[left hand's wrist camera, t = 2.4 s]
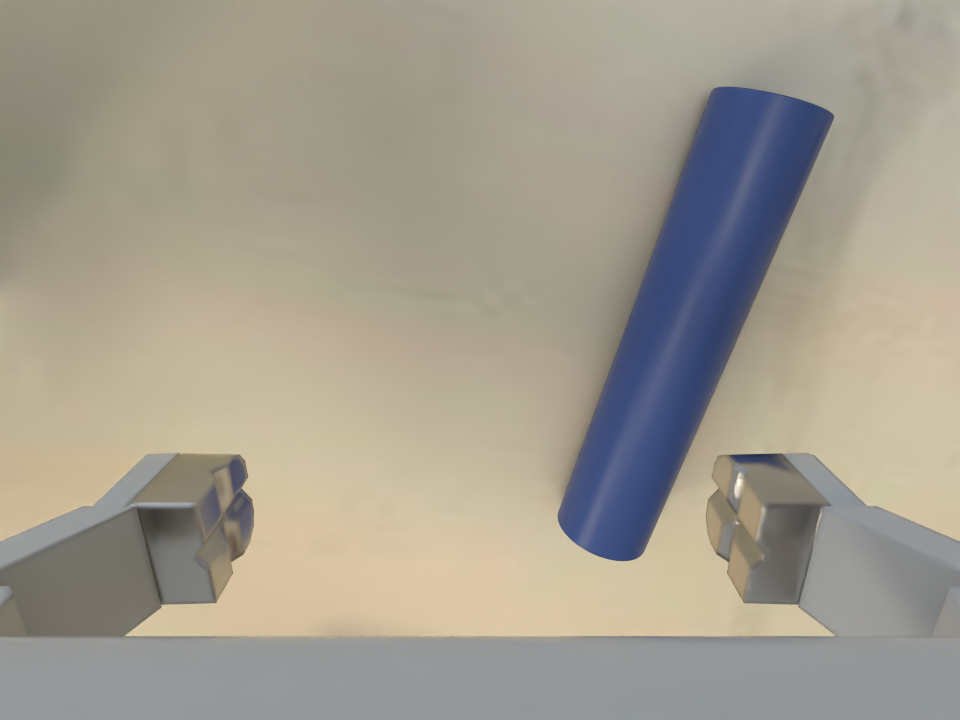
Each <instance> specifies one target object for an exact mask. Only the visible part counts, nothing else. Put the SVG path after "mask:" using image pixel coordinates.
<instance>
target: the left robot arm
mask: <svg viewBox="0 0 960 720" xmlns="http://www.w3.org/2000/svg"><path fill="white" fill-rule="evenodd" d="M247 478H248V473H247V469H246V464H245V460H244V459H243V458H242V457H241V456H240V455H239V454H188V453H183V454H180V453H154V454H147V455H146V456H145V457H144V458H143V459H142V460H141V461H139V462H138V463H137V464H136V465H135V466H134V467H133V468H132V469H131V470H130V471H129V472H128V473H127V474H126V475H125V476H124V477H123V478H122V479H121V480H120V481H119V482H118V483H117V484H115V485H114V486H113V487H112V488H111V489H110V490H109V491H108V492H107V493H106V494H105V495H104V496H103V497H102V498H101V499H100V500H99V501H98V502H97V503H96V504H95V505H94V506H83V507H80V508H78V509H76V510H73V511H71V512H69V513H66V514H64V515H62V516H59V517H57V518H54V519H52V520H50V521H47V522H45V523H43V524H40V525H38V526H36V527H33V528H31V529H29V530H26V531H24V532H22V533H19V534H17V535H15V536H12V537H10V538H8V539H5V540H3V541H1V542H0V720H960V542H959V541H957V540H955V539H952V538H950V537H948V536H945V535H943V534H941V533H938V532H936V531H934V530H931V529H929V528H927V527H924V526H922V525H920V524H917V523H915V522H912V521H910V520H908V519H905V518H903V517H901V516H898V515H896V514H894V513H891V512H889V511H887V510H884V509H882V508H880V507H877V506H867V505H865V504H864V503H863V502H862V501H861V500H860V499H859V498H858V497H857V496H856V495H855V494H854V493H853V492H852V491H851V490H850V489H849V488H848V487H847V486H846V485H845V484H844V483H843V482H842V481H840V480H839V479H838V478H837V477H836V476H835V475H834V474H833V473H832V472H831V471H830V470H829V469H828V468H827V467H826V466H825V465H824V464H823V463H822V462H821V461H820V460H819V459H818V458H817V457H816V456H814V455H812V454H809V453H787V454H743V455H720V456H718V457H717V459H716V461H715V463H714V468H713V473H712V478H713V480H714V481H715V483H716V484H717V486H718V487H719V489H718V490H717V491H716V492H715V493H714V494H713V495H712V496H711V497H710V498H709V499H708V504H707V511H706V523H707V533H708V536H709V539H710V542H711V545H712V547H713V549H714V550H715V552H716V554H717V555H719V556H720V557H722V558H723V559H725V560H726V561H728V562H729V565H728V570H727V574H728V576H729V577H730V579H731V581H732V583H733V584H734V586H735V588H736V590H737V592H738V593H739V595H740V597H741V599H742V600H743V602H744V603H760V604H797V605H799V606H798V607H799V608H800V609H802V610H803V611H804V612H806V613H807V614H808V615H810V616H811V617H812V618H813V619H815V620H816V621H817V622H819V623H820V624H821V625H823V626H824V627H825V628H826V629H828V630H829V631H830V632H832V633H833V634H834V635H836V636H125V635H126V634H127V633H129V632H130V631H131V630H132V629H134V628H135V627H136V626H138V625H139V624H140V623H142V622H143V621H144V620H146V619H147V618H148V617H149V616H151V615H152V614H153V613H155V612H156V611H157V610H159V609H160V608H161V605H163V604H199V603H216V602H217V600H218V599H219V597H220V595H221V593H222V592H223V590H224V588H225V586H226V585H227V583H228V581H229V579H230V577H231V576H232V574H233V570H232V565H231V562H232V561H234V560H235V559H237V558H238V557H240V556H242V555H243V554H244V552H245V550H246V549H247V547H248V545H249V543H250V539H251V535H252V531H253V527H254V509H253V503H252V499H251V498H250V497H249V496H248V495H247V494H246V493H245V492H244V491H243V490H242V489H241V488H242V486H243V484H244V483H245V481H246V480H247Z"/></svg>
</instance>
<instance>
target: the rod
mask: <svg viewBox="0 0 960 720" xmlns="http://www.w3.org/2000/svg"><path fill="white" fill-rule="evenodd" d="M833 119H834V115H833V114H832V113H831V112H830V111H828V110H826V109H824V108H822V107H819V106H817V105H814V104H812V103H809V102H806V101H803V100H799V99H796V98H792V97H788V96H784V95H780V94H776V93H771V92H766V91H760V90H754V89H748V88H739V87H718V88H714V89H713V90H712V92H711V95H710V98H709V100H708V103H707V106H706V109H705V111H704V114H703V117H702V120H701V122H700V125H699V128H698V131H697V133H696V136H695V139H694V142H693V144H692V147H691V150H690V152H689V155H688V158H687V161H686V163H685V166H684V169H683V172H682V174H681V177H680V180H679V183H678V185H677V188H676V191H675V194H674V196H673V199H672V202H671V205H670V207H669V210H668V213H667V216H666V218H665V221H664V224H663V226H662V229H661V232H660V235H659V237H658V240H657V243H656V246H655V248H654V251H653V254H652V257H651V259H650V262H649V265H648V268H647V270H646V273H645V276H644V279H643V281H642V284H641V287H640V290H639V292H638V295H637V298H636V300H635V303H634V306H633V309H632V311H631V314H630V317H629V320H628V322H627V325H626V328H625V331H624V333H623V336H622V339H621V342H620V344H619V347H618V350H617V353H616V355H615V358H614V361H613V364H612V366H611V369H610V372H609V374H608V377H607V380H606V383H605V385H604V388H603V391H602V394H601V396H600V399H599V402H598V405H597V407H596V410H595V413H594V416H593V418H592V421H591V424H590V427H589V429H588V432H587V435H586V438H585V440H584V443H583V446H582V449H581V451H580V454H579V457H578V459H577V462H576V465H575V468H574V470H573V473H572V476H571V479H570V481H569V484H568V487H567V490H566V492H565V495H564V498H563V501H562V503H561V506H560V509H559V512H558V521H559V524H560V526H561V528H562V530H563V531H564V533H565V534H566V535H567V536H568V537H569V538H570V539H571V540H572V541H573V542H575V543H576V544H577V545H579V546H580V547H582V548H583V549H585V550H587V551H588V552H590V553H593V554H595V555H597V556H600V557H603V558H606V559H610V560H616V561H630V560H634V559H637V558H638V557H640V556H641V555H642V554H643V552H644V551H645V548H646V546H647V544H648V542H649V539H650V537H651V535H652V532H653V530H654V528H655V526H656V523H657V521H658V519H659V516H660V514H661V512H662V510H663V507H664V505H665V503H666V500H667V498H668V496H669V494H670V491H671V489H672V487H673V485H674V482H675V480H676V478H677V475H678V473H679V471H680V469H681V466H682V464H683V462H684V459H685V457H686V455H687V453H688V450H689V448H690V446H691V443H692V441H693V439H694V437H695V434H696V432H697V430H698V427H699V425H700V423H701V421H702V418H703V416H704V414H705V412H706V409H707V407H708V405H709V402H710V400H711V398H712V396H713V393H714V391H715V389H716V386H717V384H718V382H719V380H720V377H721V375H722V373H723V370H724V368H725V366H726V364H727V361H728V359H729V357H730V354H731V352H732V350H733V348H734V345H735V343H736V341H737V339H738V336H739V334H740V332H741V329H742V327H743V325H744V323H745V320H746V318H747V316H748V313H749V311H750V309H751V307H752V304H753V302H754V300H755V297H756V295H757V293H758V291H759V288H760V286H761V284H762V281H763V279H764V277H765V275H766V272H767V270H768V268H769V266H770V263H771V261H772V259H773V256H774V254H775V252H776V250H777V247H778V245H779V243H780V240H781V238H782V236H783V234H784V231H785V229H786V227H787V224H788V222H789V220H790V218H791V215H792V213H793V211H794V208H795V206H796V204H797V202H798V199H799V197H800V195H801V193H802V190H803V188H804V186H805V183H806V181H807V179H808V177H809V174H810V172H811V170H812V167H813V165H814V163H815V161H816V158H817V156H818V154H819V151H820V149H821V147H822V145H823V142H824V140H825V138H826V135H827V133H828V131H829V129H830V126H831V124H832V122H833Z"/></svg>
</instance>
